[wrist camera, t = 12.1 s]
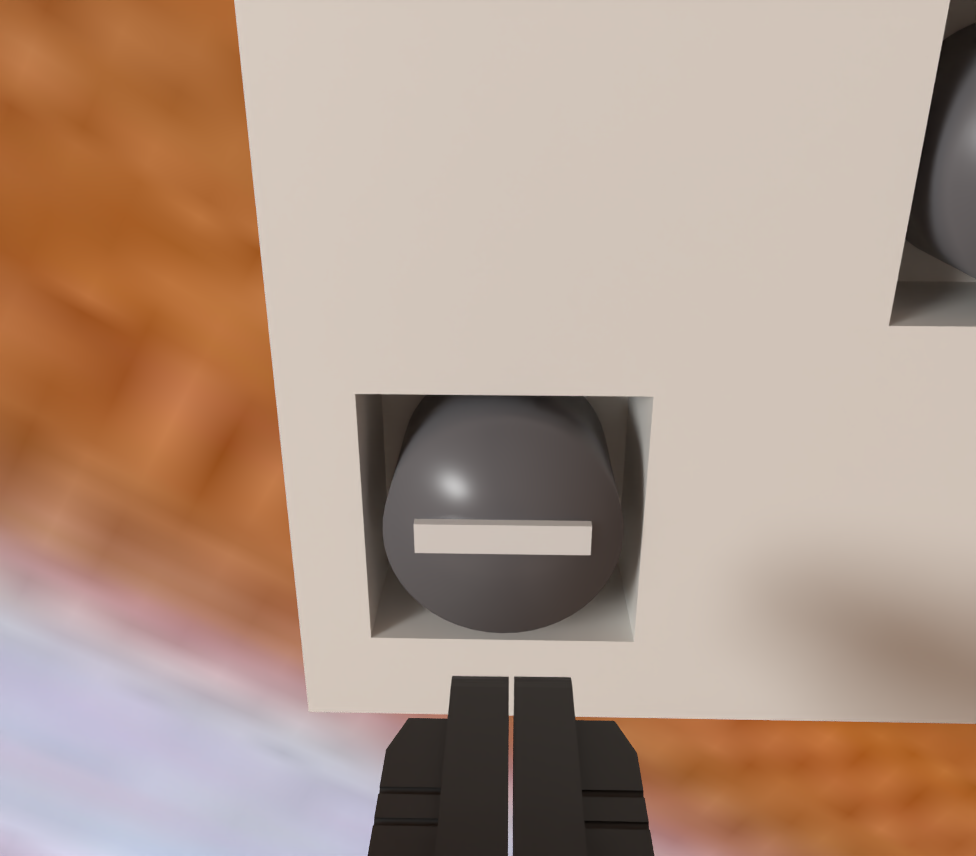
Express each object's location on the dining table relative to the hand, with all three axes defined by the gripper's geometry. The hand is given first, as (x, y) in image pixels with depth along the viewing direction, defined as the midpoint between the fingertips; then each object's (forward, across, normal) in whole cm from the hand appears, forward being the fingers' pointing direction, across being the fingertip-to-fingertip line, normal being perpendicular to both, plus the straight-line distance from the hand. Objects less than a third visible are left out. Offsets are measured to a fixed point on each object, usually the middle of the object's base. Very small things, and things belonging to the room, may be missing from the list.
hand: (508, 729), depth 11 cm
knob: (+9, 0, 0) cm, 9 cm away
